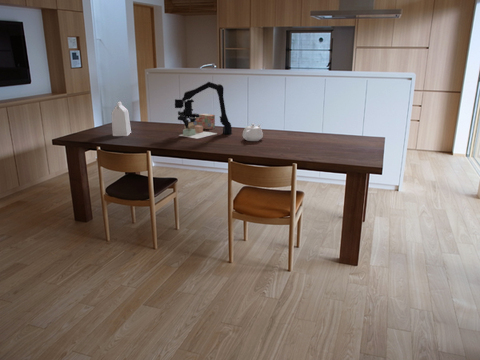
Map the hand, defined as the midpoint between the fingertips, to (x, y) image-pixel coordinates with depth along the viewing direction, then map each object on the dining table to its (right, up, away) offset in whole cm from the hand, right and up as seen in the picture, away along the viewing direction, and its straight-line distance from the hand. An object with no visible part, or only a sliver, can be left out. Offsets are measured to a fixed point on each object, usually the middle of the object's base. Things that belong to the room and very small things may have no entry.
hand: (189, 127), depth 327 cm
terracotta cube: (+6, -2, +11) cm, 13 cm away
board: (+7, -6, +3) cm, 9 cm away
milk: (-55, -5, +6) cm, 55 cm away
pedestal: (0, -5, +2) cm, 6 cm away
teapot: (+50, -11, -12) cm, 53 cm away
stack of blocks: (+8, +3, +31) cm, 32 cm away
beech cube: (0, -1, 0) cm, 1 cm away
